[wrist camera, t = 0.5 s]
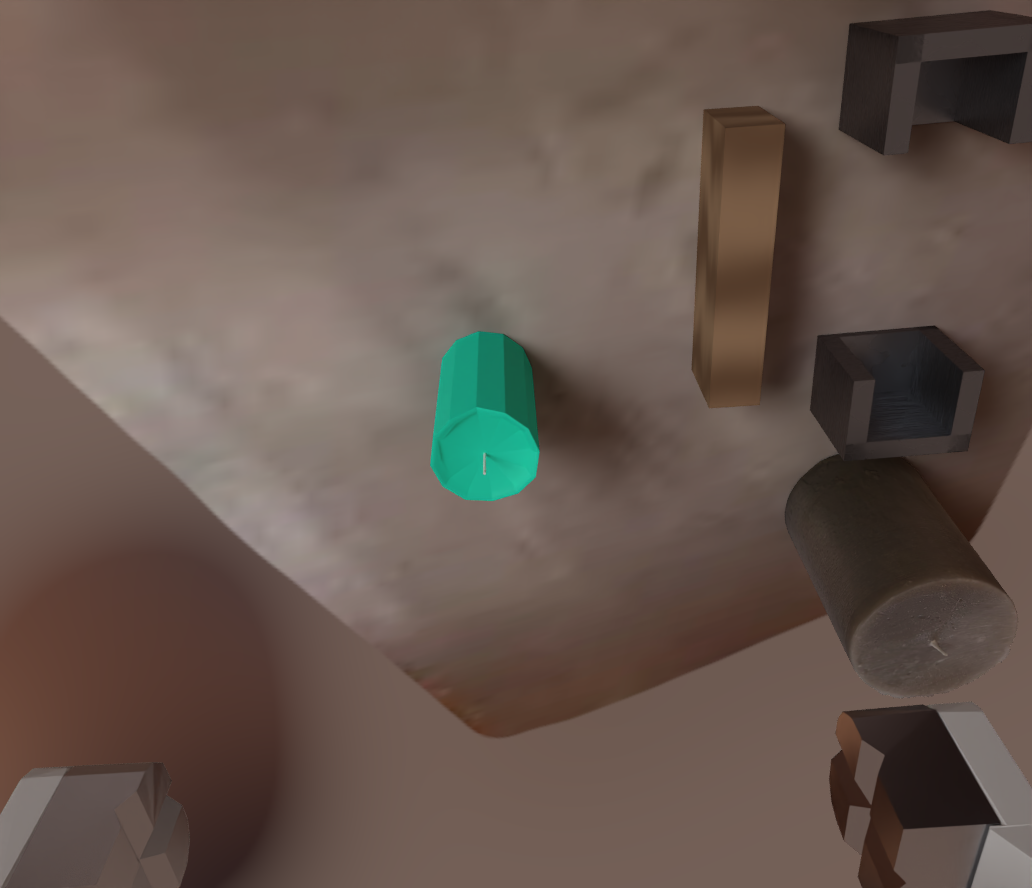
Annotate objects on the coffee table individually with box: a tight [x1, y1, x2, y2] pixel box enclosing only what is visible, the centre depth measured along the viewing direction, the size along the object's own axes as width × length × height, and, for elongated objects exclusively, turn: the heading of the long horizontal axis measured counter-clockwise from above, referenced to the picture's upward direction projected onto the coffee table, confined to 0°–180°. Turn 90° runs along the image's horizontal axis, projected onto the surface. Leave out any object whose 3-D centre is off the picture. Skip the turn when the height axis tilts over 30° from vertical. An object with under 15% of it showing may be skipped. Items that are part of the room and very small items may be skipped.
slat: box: [692, 106, 785, 408], centre depth 50 cm, size 16×3×6 cm, turn 4°
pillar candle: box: [785, 454, 1018, 698], centre depth 56 cm, size 10×10×15 cm
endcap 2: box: [810, 326, 985, 461], centre depth 54 cm, size 5×7×6 cm
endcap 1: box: [839, 10, 1032, 155], centre depth 44 cm, size 5×7×6 cm
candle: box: [430, 331, 540, 501], centre depth 51 cm, size 6×6×12 cm
